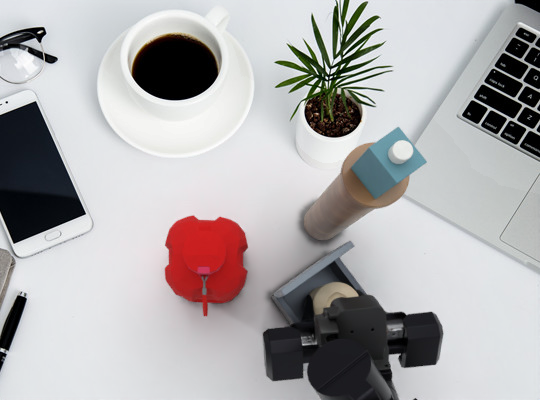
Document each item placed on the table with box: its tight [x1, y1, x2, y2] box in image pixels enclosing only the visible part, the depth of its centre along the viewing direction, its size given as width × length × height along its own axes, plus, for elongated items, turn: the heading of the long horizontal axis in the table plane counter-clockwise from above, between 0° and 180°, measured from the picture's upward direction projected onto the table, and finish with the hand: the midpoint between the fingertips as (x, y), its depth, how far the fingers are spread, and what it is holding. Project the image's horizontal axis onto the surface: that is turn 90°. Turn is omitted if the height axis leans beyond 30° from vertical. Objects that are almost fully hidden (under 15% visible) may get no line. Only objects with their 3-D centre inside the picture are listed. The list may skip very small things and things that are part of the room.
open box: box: [270, 257, 368, 344], centre depth 80 cm, size 10×10×6 cm
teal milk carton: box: [351, 126, 428, 199], centre depth 51 cm, size 4×3×8 cm
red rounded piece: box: [164, 215, 249, 318], centre depth 72 cm, size 9×11×25 cm
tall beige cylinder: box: [303, 141, 410, 241], centre depth 70 cm, size 6×6×30 cm
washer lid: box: [272, 240, 355, 298], centre depth 73 cm, size 10×10×1 cm
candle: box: [305, 282, 358, 316], centre depth 75 cm, size 6×6×10 cm
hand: (333, 294), depth 73 cm, fingers closed on candle, 5 cm apart
